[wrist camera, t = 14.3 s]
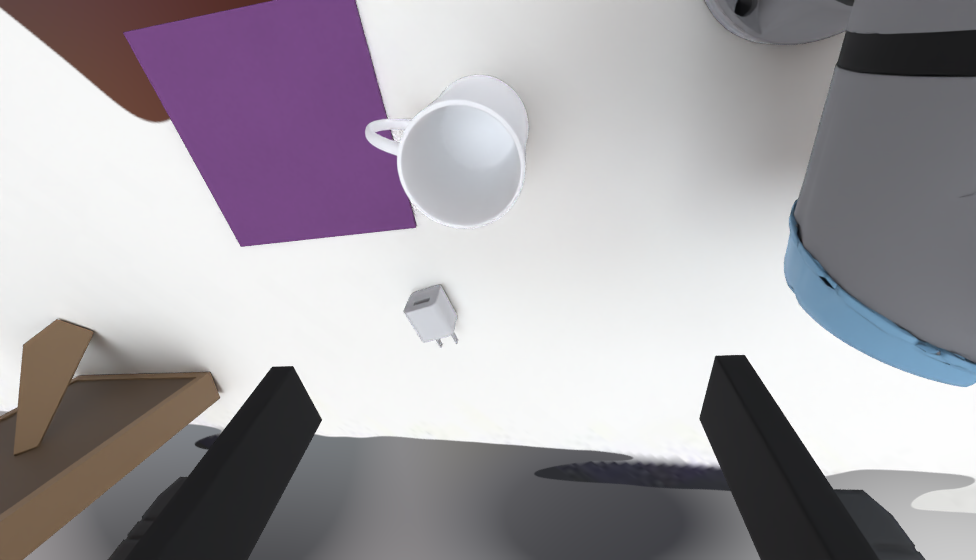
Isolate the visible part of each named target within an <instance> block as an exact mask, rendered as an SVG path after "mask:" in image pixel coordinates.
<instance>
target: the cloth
mask: <svg viewBox="0 0 976 560" xmlns="http://www.w3.org/2000/svg"><path fill="white" fill-rule="evenodd" d="M123 33H124V35H125V37H126V39H127V41H128V43H129V44H130V46H131V48H132V50H133V52H134V53H135V55H136V57H137V59H138V61H139V63H140V64H141V66H142V68H143V70H144V72H145V73H146V75H147V77H148V79H149V81H150V83H151V84H152V86H153V88H154V90H155V92H156V93H157V95H158V97H159V99H160V101H161V102H162V104H163V106H164V108H165V110H166V112H167V113H168V115H169V117H170V119H171V121H172V122H173V124H174V126H175V128H176V130H177V132H178V133H179V135H180V137H181V139H182V141H183V142H184V144H185V146H186V148H187V150H188V152H189V153H190V155H191V157H192V159H193V161H194V162H195V164H196V166H197V168H198V170H199V171H200V173H201V175H202V177H203V179H204V181H205V182H206V184H207V186H208V188H209V190H210V191H211V193H212V195H213V197H214V199H215V201H216V202H217V204H218V206H219V208H220V210H221V211H222V213H223V215H224V217H225V219H226V220H227V222H228V224H229V226H230V228H231V230H232V231H233V233H234V235H235V237H236V239H237V240H238V242H239V244H240V246H241V247H243V246H252V245H261V244H270V243H280V242H289V241H298V240H307V239H316V238H325V237H335V236H344V235H353V234H362V233H371V232H380V231H390V230H399V229H408V228H416V222H415V219H414V215H413V211H412V208H411V204H410V200H409V198H408V196H407V194H406V193H405V191H404V189H403V187H402V184H401V181H400V178H399V174H398V168H397V156H396V155H394V154H391V153H388V152H385V151H383V150H381V149H379V148H377V147H375V146H373V145H372V144H371V143H370V142H369V141H368V140H367V138H366V136H365V129H366V126H367V125H368V124H369V123H371V122H373V121H376V120H381V119H387V116H386V112H385V109H384V105H383V101H382V98H381V94H380V90H379V87H378V83H377V79H376V76H375V72H374V68H373V64H372V61H371V57H370V53H369V50H368V46H367V42H366V39H365V35H364V31H363V28H362V24H361V20H360V17H359V13H358V9H357V6H356V2H355V0H273V1H269V2H264V3H259V4H255V5H250V6H245V7H240V8H236V9H231V10H226V11H221V12H217V13H213V14H207V15H203V16H198V17H193V18H188V19H184V20H180V21H174V22H170V23H165V24H160V25H156V26H151V27H146V28H142V29H137V30H132V31H128V32H123ZM375 133H377V134H378V135H380V136H382V137H385V138H387V139H390V140H393V138H392V134H391V131H390V130H383V131H378V132H375Z"/></svg>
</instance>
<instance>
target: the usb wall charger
mask: <svg viewBox="0 0 976 560" xmlns="http://www.w3.org/2000/svg"><path fill="white" fill-rule="evenodd" d="M404 313H405V315H406V317H407V318H408V320H409V321H410V323H411V324H412V326H413V328H414V329H415V331H416V332H417V334H418V335H419V337H420V339H421V340H422V342H429V341H433V340H436V342H437V343H438V345H439V346H440V348H442V342H441V340H440V339H441V338H444V337H448V336H450V335H451V336H452V338H453V339H454V341H455V342H456V344H457V343H458V339H457V337H456V335H455V333H454V329H455V325H456V320H457V314H456V312H455V310H454V308H453V307H452V305H451V303H450V301H449V299H448V297H447V296H446V294H445V292H444V290H443V288H442V286H441V285H436V286H433V287H429V288H426V289H423V290H420V291H416V292H414V293H413V294H411V295H410V297H409V299H408V302H407V304H406V306H405V309H404ZM440 343H441V345H440Z"/></svg>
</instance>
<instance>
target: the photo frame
mask: <svg viewBox="0 0 976 560" xmlns="http://www.w3.org/2000/svg"><path fill="white" fill-rule="evenodd" d="M93 334H94V332H93V331H91V330H88V329H85V328H82V327H79V326H76V325H73V324H70V323H67V322H64V321H61V320H58V319H56V320H55V321H54V322H53V323H51V324H50V325H49V326H47V327H46V328H45V329H43V330H42V331H41V332H39V333H38V334H37V335H35V336H34V337H33V338H32V339H30V340H29V341H28V342H26V343H25V344H24V345H23V353H22V365H21V376H20V387H19V398H18V407H17V408H15V409H13V410H11V411H10V412H8V413H6V414H4V415H2V416H0V560H23V559H24V558H25V557H27V556H28V555H29V554H30V553H32V552H33V551H34V550H35V549H36V548H38V547H39V546H40V545H41V544H42V543H44V542H45V541H46V540H47V539H49V538H50V537H51V536H52V535H53V534H55V533H56V532H57V531H58V530H59V529H61V528H62V527H63V526H64V525H66V524H67V523H68V522H69V521H71V520H72V519H73V518H74V517H75V516H77V515H78V514H79V513H80V512H81V511H83V510H84V509H85V508H86V507H88V506H89V505H90V504H91V503H92V502H94V501H95V500H96V499H97V498H99V497H100V496H101V495H102V494H104V493H105V492H106V491H107V490H108V489H110V488H111V487H112V486H113V485H114V484H116V483H117V482H118V481H119V480H121V479H122V478H123V477H124V476H125V475H127V474H128V473H129V472H130V471H132V470H133V469H134V468H135V467H136V466H137V465H139V464H140V463H141V462H143V461H144V460H145V459H146V458H147V457H149V456H150V455H151V454H152V453H154V452H155V451H156V450H157V449H158V448H160V447H161V446H162V445H163V444H164V443H166V442H167V441H168V440H169V439H171V438H172V437H173V436H174V435H176V434H177V433H178V432H179V431H180V430H182V429H183V428H184V427H185V426H187V425H188V424H189V423H190V422H191V421H193V420H194V419H195V418H196V417H198V416H199V415H200V414H201V413H202V412H204V411H205V410H206V409H207V408H208V407H210V406H211V405H212V404H213V403H215V402H216V401H217V400H218V399H219V398H220V396H219V394H218V391H217V388H216V386H215V383H214V380H213V378H212V375H211V373H210V372H191V373H154V374H116V375H79V376H77V377H76V378H74V379H72V378H73V376H74V373H75V371H76V369H77V367H78V365H79V363H80V361H81V359H82V357H83V355H84V353H85V351H86V349H87V346H88V344H89V342H90V340H91V338H92V336H93Z"/></svg>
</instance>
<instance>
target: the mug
mask: <svg viewBox="0 0 976 560" xmlns="http://www.w3.org/2000/svg"><path fill="white" fill-rule="evenodd" d="M383 130H404V132H403V134H402V137H401V139H400V142H397V141H393V140H390V139H387V138H385V137H382V136H380V135H378V134H377V133H375V132H378V131H383ZM528 131H529V125H528V117H527V113H526V110H525V107H524V105H523V103H522V101H521V99H520V98H519V96H518V95H517V93H516V92H515V91H514V90H513V89H512V88H511V87H510V86H509V85H507V84H506V83H504V82H503V81H501V80H499V79H497V78H494V77H491V76H487V75H470V76H466V77H463V78H460V79H458V80H456V81H455V82H453V83H452V84H450V85H449V86H448V87H447V88H446V89H445V90H444V91H443V92H442V93H441V95H440V96H439V98H437V99H436V100H435V101H433V102H432V103H431V104H430V105H428V106H427V107H426V108H424V109H423V110H422V111H420V112H419V113H418V114H417V115H416V116H415V117H414V118H413V119H412V120H409V119H381V120H376V121H373V122H371V123H369V124H368V125H367V126H366V129H365V136H366V138H367V140H368V141H369V142H370V143H371V144H372V145H373V146H375V147H377V148H379V149H381V150H383V151H385V152H388V153H391V154H394V155H396V156H397V168H398V174H399V178H400V181H401V184H402V187H403V189H404V191H405V193H406V194H407V196H408V198H409V199H410V201H411V202H412V203H413V204H414V205H415V207H416V208H417V209H418V210H419V211H421V212H422V213H423V214H424V215H425V216H427V217H428V218H430V219H432V220H433V221H435V222H437V223H440V224H442V225H445V226H448V227H453V228H459V229H471V228H478V227H482V226H485V225H488V224H490V223H492V222H494V221H496V220H498V219H499V218H501V217H502V216H503V215H504V214H506V213H507V212H508V211H509V210H510V208H511V207H512V206H513V205H514V203H515V202H516V200H517V199H518V197H519V195H520V192H521V190H522V187H523V183H524V179H525V169H526V143H527V139H528Z"/></svg>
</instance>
